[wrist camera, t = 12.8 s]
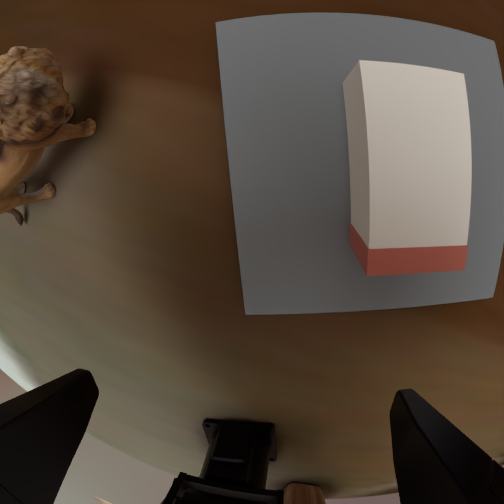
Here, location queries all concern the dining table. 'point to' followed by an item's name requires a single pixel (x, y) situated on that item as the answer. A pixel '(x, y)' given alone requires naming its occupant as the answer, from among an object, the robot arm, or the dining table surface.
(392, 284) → the mat
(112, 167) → the dining table surface
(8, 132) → the lion figurine
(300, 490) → the cupcake
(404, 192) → the beige rectangular block
